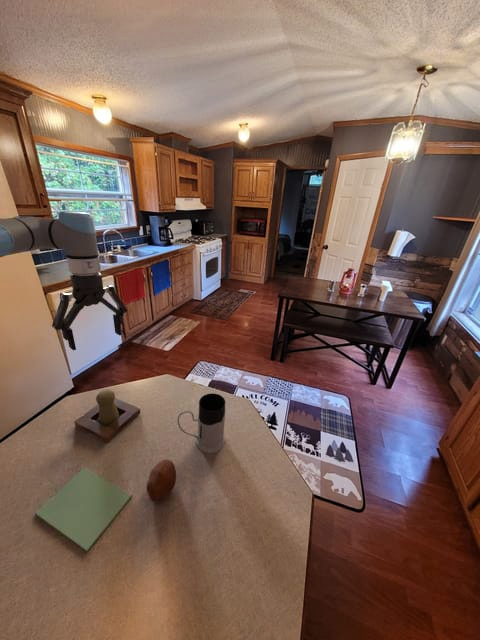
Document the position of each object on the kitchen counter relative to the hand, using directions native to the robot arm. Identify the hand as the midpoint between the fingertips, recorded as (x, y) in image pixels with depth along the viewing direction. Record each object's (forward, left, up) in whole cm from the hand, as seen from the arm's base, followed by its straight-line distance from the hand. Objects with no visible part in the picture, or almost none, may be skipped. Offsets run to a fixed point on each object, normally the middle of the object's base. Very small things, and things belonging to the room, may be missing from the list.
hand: (97, 340), depth 78 cm
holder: (+6, -5, -25) cm, 26 cm away
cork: (+6, -5, -25) cm, 27 cm away
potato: (+35, -15, -25) cm, 46 cm away
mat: (+22, -26, -25) cm, 42 cm away
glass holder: (+37, +1, -25) cm, 45 cm away
